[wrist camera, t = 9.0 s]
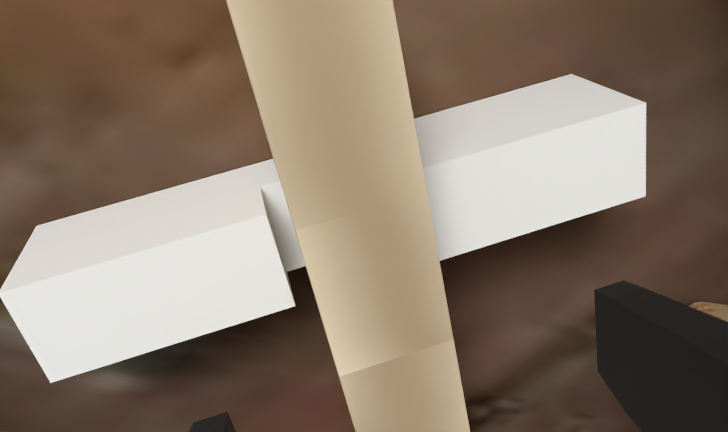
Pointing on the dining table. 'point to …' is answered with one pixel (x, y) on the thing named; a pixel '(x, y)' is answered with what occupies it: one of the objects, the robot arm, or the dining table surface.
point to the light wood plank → (357, 202)
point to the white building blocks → (277, 234)
